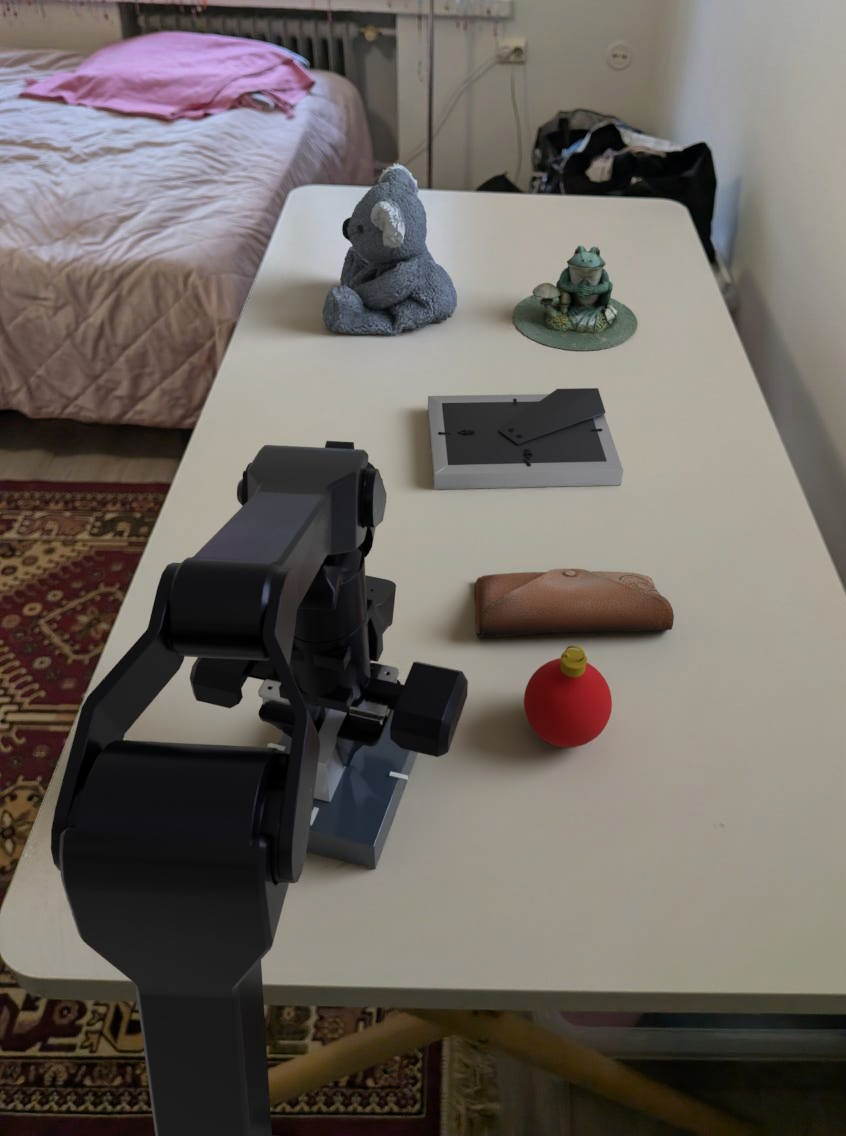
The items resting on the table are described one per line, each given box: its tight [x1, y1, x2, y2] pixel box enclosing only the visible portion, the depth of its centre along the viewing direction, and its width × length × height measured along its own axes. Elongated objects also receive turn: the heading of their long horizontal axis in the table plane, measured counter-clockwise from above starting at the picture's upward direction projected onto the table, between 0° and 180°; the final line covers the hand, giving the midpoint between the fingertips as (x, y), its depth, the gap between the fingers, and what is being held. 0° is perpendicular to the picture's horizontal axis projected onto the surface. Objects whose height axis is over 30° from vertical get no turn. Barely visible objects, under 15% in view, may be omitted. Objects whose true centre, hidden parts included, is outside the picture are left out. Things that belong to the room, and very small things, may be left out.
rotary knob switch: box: [267, 708, 419, 870], centre depth 74 cm, size 12×11×3 cm
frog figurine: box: [512, 245, 638, 352], centre depth 133 cm, size 18×18×12 cm
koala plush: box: [321, 162, 458, 337], centre depth 130 cm, size 17×18×20 cm
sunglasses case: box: [474, 568, 675, 638], centre depth 89 cm, size 18×7×7 cm
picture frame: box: [427, 387, 624, 490], centre depth 111 cm, size 16×3×21 cm
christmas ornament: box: [523, 644, 613, 748], centre depth 76 cm, size 7×7×10 cm
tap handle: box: [314, 709, 347, 802], centre depth 71 cm, size 7×2×5 cm, turn 166°
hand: (336, 758), depth 72 cm, fingers closed on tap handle, 2 cm apart
